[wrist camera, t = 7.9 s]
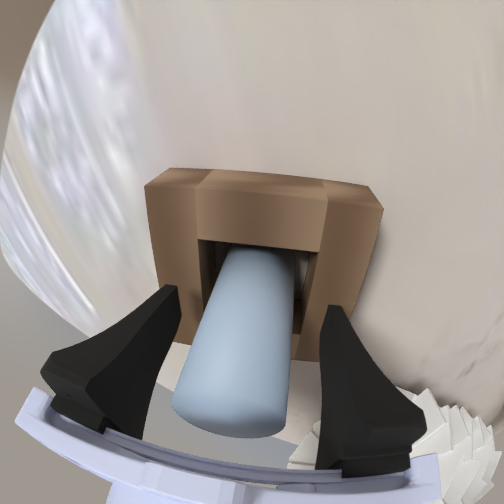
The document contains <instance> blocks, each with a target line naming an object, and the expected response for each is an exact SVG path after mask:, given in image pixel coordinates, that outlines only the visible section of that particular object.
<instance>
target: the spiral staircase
mask: <svg viewBox="0 0 504 504" xmlns="http://www.w3.org/2000/svg"><path fill="white" fill-rule="evenodd" d="M395 387H396V388H397V389H398V390H399V391H400V392H401V393H403V394H404V395H405V396H406V397H407V398H408V399H409V400H411V401H412V402H413V403H414V404H416V405H417V406H418V407H420V408H421V409H422V410H423V411H424V415H425V418H426V424H427V432H426V433H425V434H424V435H423V436H422V437H421V438H420V439H419V440H417V441H416V442H415V443H413V444H412V452H411V453H409V455H410V459H411V458H413V457H417V456H421V455H426V454H431V453H437V456H438V464H439V472H440V482H441V495H442V498H441V499H439V500H437V501H434V502H431V503H428V504H475V503H476V502H477V501H478V500H479V499H480V498H481V497H482V496H484V495H485V494H486V493H487V492H488V491H489V490H490V489H491V488H492V487H493V486H494V484H493V483H492V481H491V478H492V476H493V473H494V471H495V469H496V466H497V464H498V461H499V459H500V456H501V454H502V452H501V451H495V445H494V436H493V429H492V425H490V426H488V427H486V425H485V424H484V422H483V421H482V419H481V417H480V416H477V417H475V418H474V419H473V418H472V417H471V416H470V414H469V413H468V412H467V411H466V409H465V408H464V407H463V406H462V407H461V408H460V409H459V408H458V406H457V405H455V406H454V407H452V408H451V409H450V406H449V405H446V406H444V407H442V408H441V407H439V406H438V404H437V402H436V400H435V398H434V396H433V394H432V393H431V391H430V389H429V388H426V389H425V390H424V391H423V392H422V393H421V394H419V395H416V394H414V393H411V392H409V391H406V390H404V389H401V388H399V387H397V386H395ZM320 424H321V419H320V420H319V421H317V422H316V423H314V424H313V432H312V431H309V433H308V434H307V436H306V437H305V438H304V440H303V441H302V442H301V444H300V445H299V446H298V448H297V449H296V450H295V452H294V453H293V454H292V455H291V457H290V458H289V461H290V462H291V463H288V465H287V468H286V469H298V470H314V469H315V464H316V457H317V451H318V443H319V435H320Z"/></svg>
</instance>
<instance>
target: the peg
mask: <svg viewBox="0 0 504 504" xmlns="http://www.w3.org/2000/svg"><path fill="white" fill-rule="evenodd" d="M294 274H295V256H294V252H293V250H292V249H287V248H278V247H269V246H259V245H250V244H241V243H232V244H231V246H230V248H229V251H228V253H227V255H226V258H225V260H224V263H223V266H222V268H221V271H220V273H219V276H218V278H217V281H216V283H215V286H214V288H213V291H212V293H211V296H210V299H209V301H208V304H207V306H206V309H205V311H204V314H203V317H202V319H201V322H200V324H199V327H198V330H197V332H196V335H195V338H194V340H193V343H192V345H191V348H190V351H189V353H188V356H187V359H186V362H185V364H184V367H183V370H182V372H181V375H180V378H179V380H178V383H177V386H176V389H175V391H174V394H173V397H172V400H171V405H172V408H173V409H174V411H175V412H176V413H177V414H178V415H179V416H180V417H181V418H183V419H184V420H185V421H187V422H188V423H190V424H192V425H194V426H196V427H198V428H200V429H203V430H206V431H208V432H211V433H215V434H219V435H223V436H229V437H235V438H261V437H267V436H271V435H274V434H276V433H278V432H280V431H281V430H282V429H283V428H284V427H285V423H286V413H287V401H288V389H289V375H290V360H291V344H292V325H293V303H294Z"/></svg>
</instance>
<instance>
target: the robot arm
mask: <svg viewBox="0 0 504 504" xmlns="http://www.w3.org/2000/svg"><path fill="white" fill-rule="evenodd" d="M181 317H182V313H181V307H180V300H179V294H178V288H177V286H175V285H169V284H165V285H164V286H163V287H162V288H160V289H159V290H158V291H157V292H156V293H154V294H153V295H152V296H151V297H150V298H149V299H147V300H146V301H145V302H144V303H143V304H141V305H140V306H139V307H138V308H136V309H135V310H134V311H133V312H131V313H130V314H129V315H127V316H126V317H125V318H123V319H122V320H120V321H119V322H118V323H116V324H115V325H113V326H111V327H110V328H108V329H106V330H105V331H103V332H101V333H99V334H97V335H95V336H93V337H91V338H90V339H88V340H85V341H83V342H81V343H78V344H76V345H73V346H70V347H68V348H65V349H62V350H58V351H55V352H52V354H51V355H50V356H49V358H48V360H47V361H46V362H45V364H44V366H43V367H42V369H41V371H40V373H41V375H42V377H43V379H44V380H45V382H46V383H47V384H48V385H49V386H50V388H51V389H52V390H53V391H54V392H55V393H56V395H55V397H54V398H53V397H51V396H50V395H49V394H47V393H45V392H44V391H42V390H40V389H39V388H37V387H33V389H32V391H31V393H30V394H29V396H28V398H27V400H26V401H25V403H24V405H23V407H22V409H21V410H20V412H19V414H18V416H17V418H16V420H15V423H16V424H17V425H18V426H20V427H21V428H22V429H23V430H25V431H26V432H27V433H28V434H30V435H31V436H32V437H34V438H35V439H36V440H38V441H39V442H40V443H42V444H43V445H45V446H46V447H48V448H49V449H51V450H53V451H54V452H56V453H57V454H59V455H61V456H62V457H64V458H66V459H67V460H69V461H71V462H73V463H74V464H76V465H78V466H80V467H82V468H83V469H86V470H87V471H89V472H91V473H93V474H95V475H97V476H99V477H101V478H103V479H105V480H108V481H110V482H112V483H113V484H112V487H111V489H110V492H109V495H108V498H107V501H106V504H428V503H431V502H434V501H437V500H439V499H441V498H442V495H441V482H440V472H439V464H438V456H437V453H431V454H426V455H421V456H417V457H413V458H411V459H410V455H409V453H411V452H412V444H413V443H415V442H416V441H417V440H419V439H420V438H421V437H422V436H423V435H424V434H425V433H426V432H427V424H426V418H425V415H424V411H423V410H422V409H421V408H420V407H418V406H417V405H416V404H414V403H413V402H412V401H411V400H409V399H408V398H407V397H406V396H405V395H404V394H403V393H401V392H400V391H399V390H398V389H397V388H396V387H395V386H394V385H393V384H392V382H391V381H390V380H389V379H388V378H387V377H386V376H385V375H384V374H383V372H382V371H381V370H380V369H379V368H378V366H377V365H376V364H375V362H374V361H373V360H372V358H371V357H370V355H369V354H368V352H367V351H366V349H365V348H364V346H363V344H362V343H361V341H360V339H359V338H358V336H357V334H356V332H355V331H354V329H353V327H352V325H351V323H350V321H349V319H348V317H347V315H346V313H345V311H344V309H343V307H342V306H341V305H329V304H328V308H327V311H326V315H325V318H324V321H323V325H322V328H321V331H320V338H319V359H320V371H321V385H322V411H321V424H320V435H319V443H318V451H317V457H316V464H315V469H314V470H298V469H280V468H268V467H258V466H250V465H242V464H236V463H230V462H224V461H218V460H213V459H208V458H203V457H198V456H194V455H190V454H186V453H182V452H178V451H174V450H171V449H167V448H164V447H160V446H157V445H154V444H151V443H148V442H144V441H142V437H143V431H144V426H145V421H146V416H147V412H148V408H149V404H150V400H151V396H152V392H153V389H154V386H155V383H156V379H157V376H158V373H159V371H160V368H161V366H162V364H163V362H164V360H165V357H166V355H167V353H168V351H169V349H170V347H171V344H172V342H173V340H174V338H175V336H176V333H177V330H178V327H179V324H180V321H181ZM148 459H150V460H153V461H156V462H152V461H150V460H148ZM157 462H159V463H157ZM161 463H162V464H161ZM168 465H169V466H168ZM175 467H176V468H175ZM179 468H180V469H179ZM195 472H196V473H195ZM199 473H200V474H199ZM204 474H205V475H204ZM208 475H209V476H208ZM213 476H214V477H213ZM219 477H220V478H219ZM224 478H225V479H224ZM229 479H231V480H229ZM234 480H238V481H246V482H253V483H263V484H273V485H278V486H277V487H276V489H273V488H266V487H260V486H253V485H248V484H244V483H241V482H237V481H234Z"/></svg>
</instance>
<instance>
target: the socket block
mask: <svg viewBox="0 0 504 504" xmlns="http://www.w3.org/2000/svg"><path fill="white" fill-rule="evenodd" d="M144 189H145V198H146V206H147V214H148V222H149V229H150V236H151V242H152V249H153V255H154V261H155V266H156V272H157V277H158V283H159V288H162V287H163V286H164V285H165V284H169V285H175V286H177V288H178V294H179V300H180V307H181V313H182V317H181V321H180V324H179V327H178V330H177V333H176V336H175V338H174V340H173V342H177V343H182V344H187V345H192V343H193V340H194V338H195V335H196V332H197V330H198V327H199V324H200V322H201V319H202V317H203V314H204V311H205V309H206V306H207V304H208V301H209V299H210V296H211V293H212V291H213V288H214V286H215V283H216V272H215V243H214V241H222V242H232V243H241V244H250V245H259V246H269V247H278V248H287V249H296V250H304V251H310V256H309V261H308V267H307V272H306V277H305V282H304V288H303V293H302V297H301V300H294V303H293V325H292V344H291V360H301V361H314V362H320V359H319V338H320V331H321V328H322V325H323V321H324V318H325V315H326V311H327V308H328V304H329V305H341V306H342V307H343V309H344V311H345V313H346V315H347V317H348V319H350V317H351V314H352V311H353V309H354V306H355V303H356V300H357V297H358V295H359V292H360V289H361V286H362V283H363V280H364V277H365V274H366V271H367V267H368V264H369V261H370V258H371V254H372V251H373V248H374V244H375V241H376V237H377V233H378V230H379V226H380V222H381V218H382V215H383V211H384V208H383V207H382V205H381V204H380V203H379V201H378V200H377V198H376V197H375V195H374V194H373V193H372V191H371V190H370V188H369V187H368V186H364V185H357V184H351V183H345V182H338V181H331V180H323V179H316V178H307V177H299V176H290V175H280V174H270V173H259V172H246V171H232V170H214V169H191V168H169V169H167V170H166V171H164V172H163V173H162V174H160V175H159V176H157V177H156V178H155V179H153V180H152V181H150V182H149V183H148V184H146V185H145V186H144Z"/></svg>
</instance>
